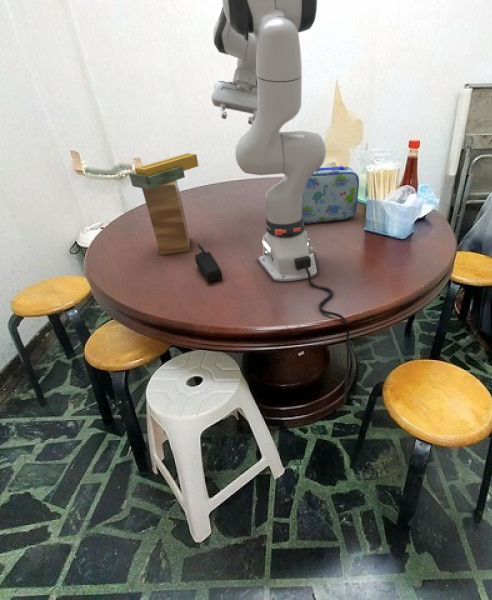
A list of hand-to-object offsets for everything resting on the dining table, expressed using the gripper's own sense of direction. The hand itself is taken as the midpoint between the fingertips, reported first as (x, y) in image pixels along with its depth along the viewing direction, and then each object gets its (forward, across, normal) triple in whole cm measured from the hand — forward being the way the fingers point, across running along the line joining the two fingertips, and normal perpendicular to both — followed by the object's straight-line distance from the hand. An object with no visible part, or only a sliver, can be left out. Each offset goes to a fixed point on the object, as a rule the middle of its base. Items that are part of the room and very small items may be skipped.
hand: (237, 120), depth 122 cm
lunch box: (+19, +38, +25) cm, 50 cm away
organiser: (+46, -15, +12) cm, 50 cm away
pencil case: (+25, -17, -2) cm, 30 cm away
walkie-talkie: (+54, +1, -2) cm, 54 cm away
